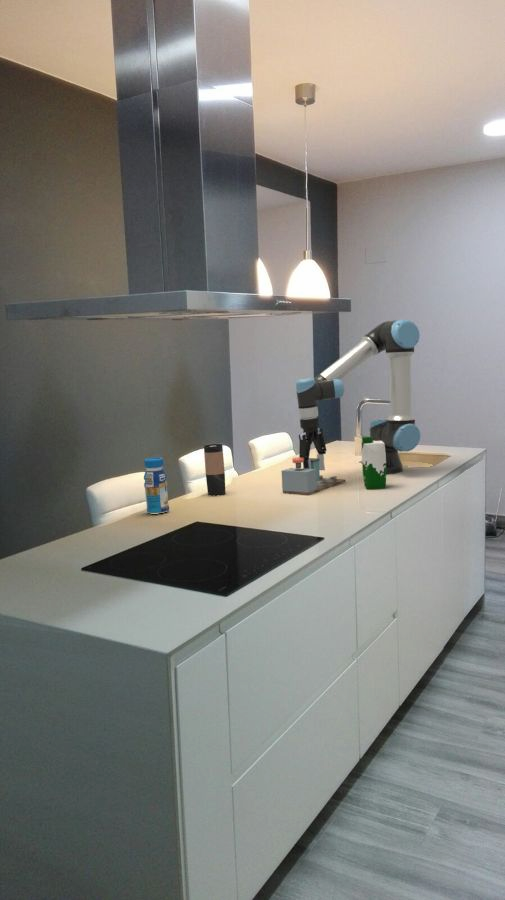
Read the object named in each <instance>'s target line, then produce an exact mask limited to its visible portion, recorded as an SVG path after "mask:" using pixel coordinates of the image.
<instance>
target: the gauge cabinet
mask: <svg viewBox="0 0 505 900" xmlns="http://www.w3.org/2000/svg"><path fill="white" fill-rule="evenodd" d="M281 487H282V492H283V491H294V492H306V493H308V492H311V491H314V490H317V476H316V469H303V467H301V468H296V467H289V468H286V469H282V470H281Z"/></svg>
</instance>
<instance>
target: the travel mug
mask: <svg viewBox="0 0 505 900" xmlns="http://www.w3.org/2000/svg"><path fill="white" fill-rule="evenodd" d="M223 448H224V447H223V444H222V443H221V444H220V443H214V444H213V443H212V444H206V445H204V446H203V454H204V464H205V465H204V467H205V468H204V470H205V480H206V487H207V496H209V495H215V496H214V497H218V496H217V495H220V496H224V495H226V473H225V461H224V450H223Z"/></svg>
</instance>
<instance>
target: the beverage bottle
mask: <svg viewBox="0 0 505 900" xmlns="http://www.w3.org/2000/svg"><path fill="white" fill-rule="evenodd" d="M143 462H144V463H143V464H144V468H145V469H146V471H145V472H144V475H143V480H144V483H143V487H144V493H145V501H146V503H145V504H146V513H147V514H148V513H163V512H166V511H168V512H169V511H170V507H169V497H168V481H167V474H166V471H164V469H163V468H164V458H163V457H150V458H148V457H147V458H146V459H144V461H143Z"/></svg>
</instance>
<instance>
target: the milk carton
mask: <svg viewBox="0 0 505 900" xmlns="http://www.w3.org/2000/svg"><path fill="white" fill-rule="evenodd" d="M361 439H362V441H361V462H362V463H361V464H362V465H361V466H362V477H363V478H362V480H363V483H364V487H365V489H366V490H367V491H368V490H381V489H382V490H383V489H386V488H387V487H386V485H387V484H386V483H387V474H386V452H385V444H384V442H382V441H373V437H370V436H363V437H362V438H361Z"/></svg>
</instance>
